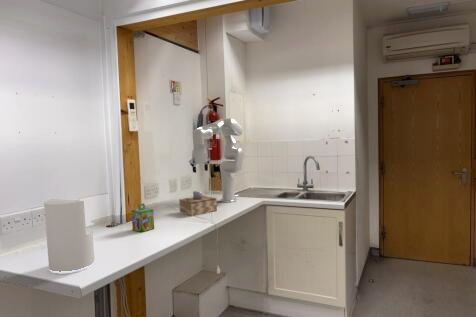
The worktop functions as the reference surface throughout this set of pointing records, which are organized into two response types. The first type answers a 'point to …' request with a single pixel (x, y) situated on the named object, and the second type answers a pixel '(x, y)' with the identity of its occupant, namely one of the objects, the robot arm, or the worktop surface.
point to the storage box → (198, 207)
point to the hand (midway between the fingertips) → (200, 171)
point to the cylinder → (67, 235)
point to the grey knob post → (197, 195)
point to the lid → (193, 201)
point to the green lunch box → (142, 219)
